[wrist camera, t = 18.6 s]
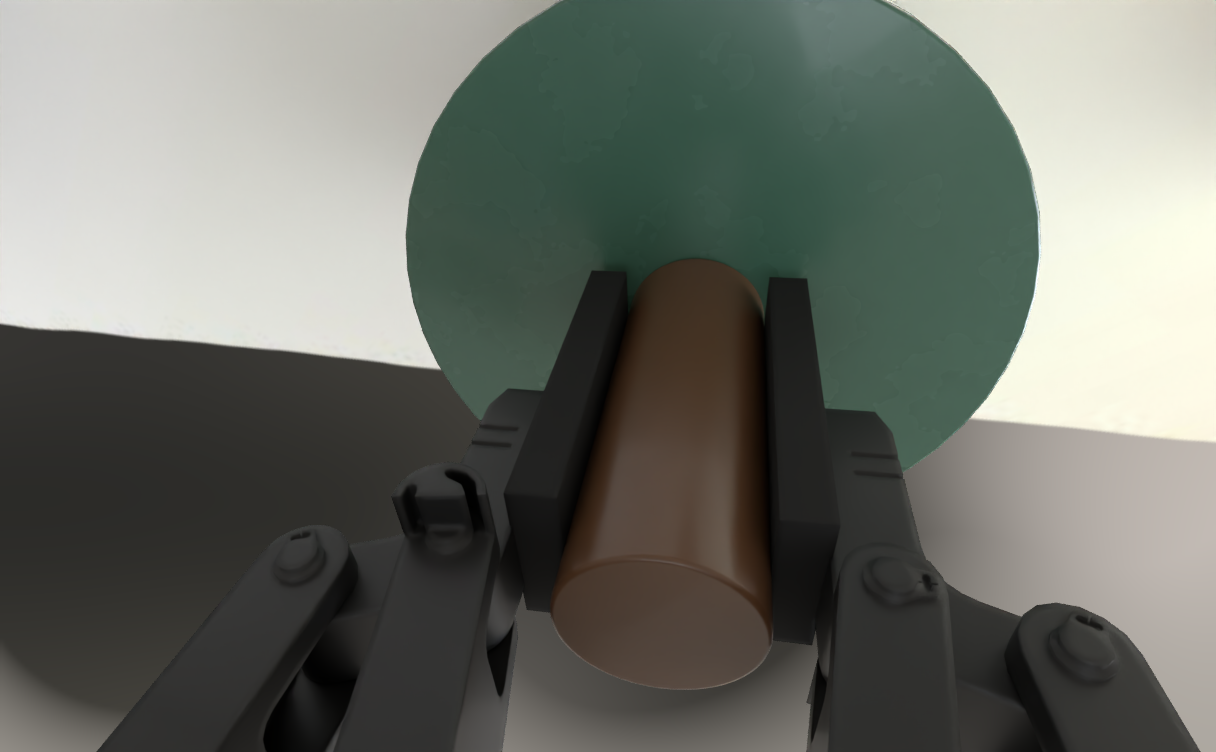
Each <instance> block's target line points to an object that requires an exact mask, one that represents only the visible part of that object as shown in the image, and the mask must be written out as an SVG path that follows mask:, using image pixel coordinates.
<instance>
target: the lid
mask: <svg viewBox="0 0 1216 752" xmlns="http://www.w3.org/2000/svg"><path fill="white" fill-rule="evenodd" d="M406 251H407V271H408V276H409V281H410V287H411V292H412V298H413V303H414V306H415V309H416V312H417V315H418V318H419V321H420V325H421V328H422V331H423V334H424V336H425V338H426V340H427V342H428V344H429V347H430V349H431V351H432V353H433V355H434V357H435V359H436V361H437V363H438V365H439V367H440V368H441V370H442V371H443V373H444V375H445V376H446V378H447V379H448V381H449V383H450V384H451V386H452V387H453V389H454V390H455V391H456V393H457V394H458V395H459V397H460V398H461V399H462V400H463V402H464V403H465V404H466V405H467V407H468V408H469V409H470V410H471V411H472V413H473V414H474V415H475V416H476V417H477V418H478V419H479V420H480V421H481V420H482V418H483V416H484V414H485V412H486V410H487V408H488V406H489V404H491V403H492V402H493V401H494V400H495V399H496V398H498V397H499V396H500V395H501V394H502V393H503V392H504V391H506V390H507V389H508V388H510V389H524V390H539V391H544V389H545V387H546V384H547V382H548V379H549V377H550V374H551V372H552V369H553V367H554V364H555V362H556V359H557V357H558V354H559V352H560V349H561V347H562V344H563V342H564V339H565V337H566V334H567V331H568V329H569V326H570V324H571V321H572V319H573V316H574V314H575V311H576V309H577V306H578V304H579V301H580V299H581V296H582V294H583V291H584V289H585V286H586V284H587V281H588V279H589V276H590V274H591V271H592V270H595V271H622V272H627V300H628V318H627V322H626V326H625V329H624V333H623V337H622V340H621V344H620V347H619V351H618V355H617V358H616V362H615V366H614V369H613V373H612V376H611V380H610V384H609V387H608V391H607V395H606V398H605V402H604V406H603V409H602V413H601V416H600V420H599V424H598V427H597V431H596V435H595V438H594V442H593V445H592V449H591V453H590V456H589V460H588V464H587V467H586V471H585V475H584V478H583V482H582V485H581V489H580V493H579V496H578V500H577V504H576V507H575V511H574V514H573V518H572V522H571V525H570V529H569V533H568V536H567V540H566V544H565V547H564V551H563V554H562V558H561V562H560V565H559V569H558V573H557V576H556V580H555V583H554V587H553V591H552V594H551V599H550V614H551V619H552V623H553V626H554V627H555V630H556V632H557V634H558V635H559V637H560V638H561V639H562V641H563V642H564V643H565V644H566V645H567V646H568V648H569V649H571V650H572V651H573V652H574V653H575V654H576V655H577V656H579V657H580V658H581V659H583V660H584V661H586V662H587V663H589V664H591V665H592V666H594V667H596V668H598V669H600V670H602V671H604V672H606V673H608V674H610V675H613V676H615V677H618V678H620V679H623V680H627V681H630V682H633V683H637V684H641V685H645V686H651V687H657V688H666V689H681V690H687V689H702V688H711V687H715V686H721V685H724V684H727V683H731V682H733V681H735V680H738V679H740V678H743V677H744V676H746V675H748V674H749V673H751V672H752V671H754V670H755V669H756V668H757V667H759V665H760V664H761V663H762V662H763V661H764V660H765V658H766V656H767V654H768V652H769V650H770V648H771V645H772V641H773V604H772V576H771V550H770V515H769V480H768V444H767V409H766V374H765V338H764V322H765V313H766V303H767V294H768V285H769V277H780V278H806V279H807V281H808V288H809V295H810V303H811V310H812V318H813V325H814V332H815V340H816V347H817V354H818V362H819V369H820V376H821V384H822V391H823V399H824V406H825V408H828V409H842V410H857V411H871V412H876V414H877V415H878V416H879V417H880V418H881V420H882V421H883V422H884V423H885V424H886V425H887V427H888V428H889V429H890V430H891V431H892V433H893V436H894V440H895V444H896V448H897V452H898V460H900V464H901V468H902V472H904V471H906V470H908V469H910V468H911V467H912V466H914V465H915V464H917V463H918V462H919V461H921V460H922V459H924V458H925V457H926V456H928V455H929V454H931V453H932V452H933V451H935V450H936V449H938V448H939V447H940V446H941V445H942V444H943V443H944V442H945V441H946V440H948V439H949V438H950V437H951V436H952V435H953V434H954V433H955V432H956V431H958V430H959V429H960V428H961V427H962V426H963V425H964V424H965V423H966V422H967V421H968V420H969V418H970V417H971V416H972V415H973V414H974V413H975V411H976V410H977V409H978V408H979V407H980V406H981V404H982V403H983V402H984V401H985V400H986V399H987V398H988V396H989V395H990V393H991V392H992V390H993V388H994V387H995V385H996V384H997V382H998V381H999V379H1000V378H1001V376H1002V375H1003V373H1004V372H1005V370H1006V369H1007V367H1008V365H1009V363H1010V361H1011V359H1012V357H1013V355H1014V353H1015V351H1016V348H1017V346H1018V344H1019V342H1020V340H1021V338H1022V336H1023V334H1024V331H1025V328H1026V324H1027V321H1028V318H1029V314H1030V311H1031V308H1032V304H1033V301H1034V298H1035V294H1036V288H1037V280H1038V273H1039V265H1040V258H1041V238H1040V211H1039V207H1038V202H1037V197H1036V192H1035V187H1034V183H1033V178H1032V173H1031V169H1030V166H1029V164H1028V161H1027V159H1026V156H1025V154H1024V151H1023V149H1022V146H1021V144H1020V141H1019V139H1018V136H1017V134H1016V131H1015V129H1014V127H1013V125H1012V124H1011V122H1010V120H1009V119H1008V117H1007V115H1006V114H1005V112H1004V111H1003V109H1002V107H1001V106H1000V104H999V103H998V101H997V99H996V98H995V96H994V95H993V93H992V91H991V90H990V88H989V87H988V86H987V85H986V83H985V82H984V81H983V80H982V79H981V78H980V77H979V76H978V74H977V73H976V72H975V71H974V70H973V69H972V68H971V67H970V65H969V64H968V63H967V62H966V61H965V60H964V59H963V58H962V56H961V55H960V54H959V53H958V52H957V51H956V50H955V49H954V48H953V47H952V46H950V45H949V44H948V43H947V42H946V41H944V40H943V39H942V38H941V37H939V36H938V35H937V34H936V33H934V32H933V31H932V30H930V29H929V28H928V27H927V26H925V25H924V24H923V23H922V22H920V21H919V20H918V19H917V18H915V17H914V16H913V15H912V14H910V13H908V12H907V11H905V10H903V9H901V8H900V7H898V6H896V5H894V4H892V3H891V2H889V1H887V0H560V1H558V2H557V3H555V4H554V5H552V6H550V7H549V8H547V9H546V10H544V11H543V12H541V13H539V14H538V15H536V16H535V17H533V18H531V19H530V20H528V21H527V22H525V23H524V24H522V25H521V26H519V27H518V28H517V29H515V30H514V31H513V32H512V33H511V34H510V35H509V36H507V37H506V38H505V39H504V40H503V41H502V42H500V43H499V44H498V45H497V46H496V47H495V48H494V49H492V50H491V51H490V52H489V53H488V54H487V55H486V56H484V57H483V58H482V60H481V61H480V62H479V63H478V64H477V65H476V67H475V68H474V69H473V70H472V71H471V73H470V74H469V75H468V76H467V77H466V79H465V80H464V81H463V82H462V83H461V84H460V86H459V87H458V88H457V89H456V90H455V92H454V93H453V95H452V97H451V98H450V100H449V102H448V103H447V105H446V107H445V108H444V110H443V111H442V113H441V115H440V116H439V118H438V120H437V121H436V123H435V125H434V126H433V129H432V131H431V133H430V136H429V138H428V141H427V143H426V145H425V148H424V150H423V153H422V155H421V157H420V160H419V162H418V166H417V170H416V174H415V178H414V182H413V186H412V190H411V194H410V198H409V207H408V217H407V227H406Z"/></svg>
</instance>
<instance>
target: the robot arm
mask: <svg viewBox="0 0 1216 752" xmlns="http://www.w3.org/2000/svg"><path fill="white" fill-rule="evenodd" d="M627 318H628V300H627V272H622V271H595V270H592V271H591V274H590V276H589V279H588V281H587V284H586V286H585V289H584V291H583V294H582V296H581V299H580V301H579V304H578V306H577V309H576V311H575V314H574V316H573V319H572V321H571V324H570V326H569V329H568V331H567V334H566V337H565V339H564V342H563V344H562V347H561V349H560V352H559V354H558V357H557V359H556V362H555V364H554V367H553V369H552V372H551V374H550V377H549V379H548V382H547V384H546V387H545V389H544V391H539V390H524V389H510V388H508V389H507V390H506V391H504V392H503V393H502V394H501V395H500V396H499V397H498V398H496V399H495V400H494V401H493V402H492V403H491V404H489V406H488V408H487V410H486V412H485V414H484V416H483V418H482V420H481V422H480V427H479V428H478V429H477V431H476V433H475V435H474V437H473V439H472V444H471V445H469V447H468V449H467V451H466V453H465V455H464V457H463V459H462V461H461V463H453V462H444V463H439V464H432V465H429V466H426V467H424V468H422V469H419V470H417V471H415V472H413V473H412V474H410V475H409V476H408V477H407V478H405V479H404V480H403V481H402V482H400V483H399V485H398V486H397V488H396V490H395V491H394V493H393V494H392V496H391V497H392V500H393V503H394V506H395V509H396V512H397V515H398V518H399V520H400V523H401V526H402V529H403V532H404V533H403V534H401V535H397V536H394V537H390V538H385V539H379V540H373V541H368V542H361V543H355V544H350V545H349V544H348V541H347V540H346V538H345V537H344V536H343V534H342V533H341V531H339V530H336V529H334V528H332V527H329V526H317V525H314V526H313V525H310V526H307V527H303V528H299V529H296V530H292V531H291V532H289V533H287V534H285V535H283V536H281V537H280V538H278V539H276V540H275V541H274V542H272V543H271V544H270V545H269V546H268V547H267V548H266V549H265V550H264V551H263V552H261V554H260V555H259V556H258V557H257V558H256V560H255V561H254V562H253V563H252V565H251V566H250V567H249V568H248V569H247V571H246V572H245V573H244V574H243V575H242V577H241V578H240V579H239V580H238V581H237V583H236V584H235V585H234V586H233V587H232V589H231V590H230V591H229V592H228V594H227V595H226V596H225V597H224V598H223V600H222V601H221V602H220V603H219V604H218V606H217V607H216V608H215V609H214V610H213V612H212V613H211V614H210V615H209V616H208V618H207V619H206V620H205V621H204V623H203V624H202V625H201V626H200V627H199V629H198V630H197V631H196V632H195V633H194V635H193V636H192V637H191V638H190V639H189V641H188V642H187V643H186V644H185V645H184V647H183V648H182V649H181V650H180V652H179V653H178V654H177V655H176V656H175V658H174V659H173V660H172V661H171V663H170V664H169V665H168V666H167V667H166V669H165V670H164V671H163V672H162V673H161V674H160V676H159V677H158V678H157V680H156V681H155V682H154V683H153V684H152V685H151V687H150V688H149V689H148V690H147V691H146V693H145V694H144V695H143V696H142V698H141V699H140V700H139V701H138V702H137V704H136V705H135V706H134V707H133V708H132V710H131V711H130V712H129V713H128V714H127V716H126V717H125V718H124V719H123V721H122V722H121V723H120V724H119V725H118V727H117V728H116V729H115V730H114V731H113V733H112V734H111V735H110V736H109V737H108V739H107V740H106V741H105V742H104V743H103V745H102V746H101V747H100V748H99V749H98V751H97V752H502V748H503V742H504V734H505V727H506V720H507V713H508V705H509V698H510V691H511V684H512V677H513V669H514V662H515V655H516V648H517V640H518V633H517V623H516V618H515V615H516V612H517V608H518V605H519V602H520V599H521V596H522V593H524V598H525V603H526V608H527V610H533V611H542V612H550V599H551V594H552V591H553V587H554V583H555V580H556V576H557V573H558V569H559V565H560V562H561V558H562V554H563V551H564V547H565V544H566V540H567V536H568V533H569V529H570V525H571V522H572V518H573V514H574V511H575V507H576V504H577V500H578V496H579V493H580V489H581V485H582V482H583V478H584V475H585V471H586V467H587V464H588V460H589V456H590V453H591V449H592V445H593V442H594V438H595V435H596V431H597V427H598V424H599V420H600V416H601V413H602V409H603V406H604V402H605V398H606V395H607V391H608V387H609V384H610V380H611V376H612V373H613V369H614V366H615V362H616V358H617V355H618V351H619V347H620V344H621V340H622V337H623V333H624V329H625V326H626V322H627ZM764 338H765V374H766V409H767V444H768V480H769V515H770V550H771V576H772V604H773V640H775V641H782V642H790V643H799V644H806V645H812V643H813V639H814V635H815V631H816V635H817V647H818V660H817V664H816V667H815V672H814V675H813V679H812V683H811V687H810V691H809V695H808V699H807V703H808V704H811V707H810V718H809V729H808V740H807V751H806V752H1200V750H1199V749H1198V747H1197V745H1196V744H1195V742H1194V740H1193V738H1192V737H1191V735H1190V733H1189V732H1188V730H1187V728H1186V727H1185V725H1184V723H1183V722H1182V720H1181V719H1180V717H1179V715H1178V713H1177V712H1176V710H1175V709H1174V707H1173V705H1172V703H1171V702H1170V700H1169V698H1168V697H1167V695H1166V693H1165V692H1164V690H1163V688H1162V687H1161V685H1160V684H1159V682H1158V680H1157V678H1156V677H1155V676H1154V673H1153V672H1152V670H1151V668H1150V667H1149V665H1148V663H1147V662H1146V660H1145V658H1144V657H1143V655H1142V654H1141V652H1140V651H1139V650H1138V649H1137V648H1136V646H1135V645H1134V644H1133V643H1132V641H1131V640H1130V639H1129V638H1128V636H1127V635H1126V634H1124V633H1123V632H1122V631H1120V630H1119V629H1118V628H1116V627H1115V626H1114V625H1112V624H1111V623H1110V622H1108V621H1107V620H1106V619H1104V618H1102V617H1100V616H1098V615H1096V614H1094V613H1092V612H1089V611H1087V610H1085V609H1083V608H1081V607H1076V606H1071V605H1066V604H1060V603H1051V604H1043V605H1037V606H1035V607H1034V608H1032V609H1031V610H1029V611H1028V612H1026V613H1025V614H1024V615H1023V616H1022V617H1020V616H1017V615H1015V614H1012V613H1009V612H1007V611H1004V610H1001V609H998V608H996V607H993V606H990V605H988V604H985V603H982V602H979V601H977V600H975V599H973V598H971V597H969V596H966V595H964V594H962V593H960V592H959V591H958V590H956V589H955V588H953V587H952V586H950V585H948V584H947V583H946V582H945V581H944V580H943V577H942V576H941V575H940V573H939V572H938V571H937V570H936V569H935V567H934V566H933V565H932V564H931V562H929V561H928V560H926V558H925V556H924V553H923V551H922V548H921V545H920V541H919V536H918V532H917V529H916V524H915V520H914V516H913V513H912V508H911V504H910V500H909V496H908V493H907V488H906V484H905V480H904V479H903V472H902V468H901V464H900V460H898V452H897V448H896V444H895V440H894V436H893V433H892V431H891V430H890V429H889V428H888V427H887V425H886V424H885V423H884V422H883V421H882V420H881V418H880V417H879V416H878V415H877V414H876V412H871V411H857V410H842V409H828V408H825V406H824V399H823V391H822V384H821V376H820V369H819V362H818V354H817V347H816V340H815V332H814V325H813V318H812V310H811V303H810V295H809V288H808V281H807V279H806V278H780V277H769V285H768V294H767V303H766V313H765V322H764Z"/></svg>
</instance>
